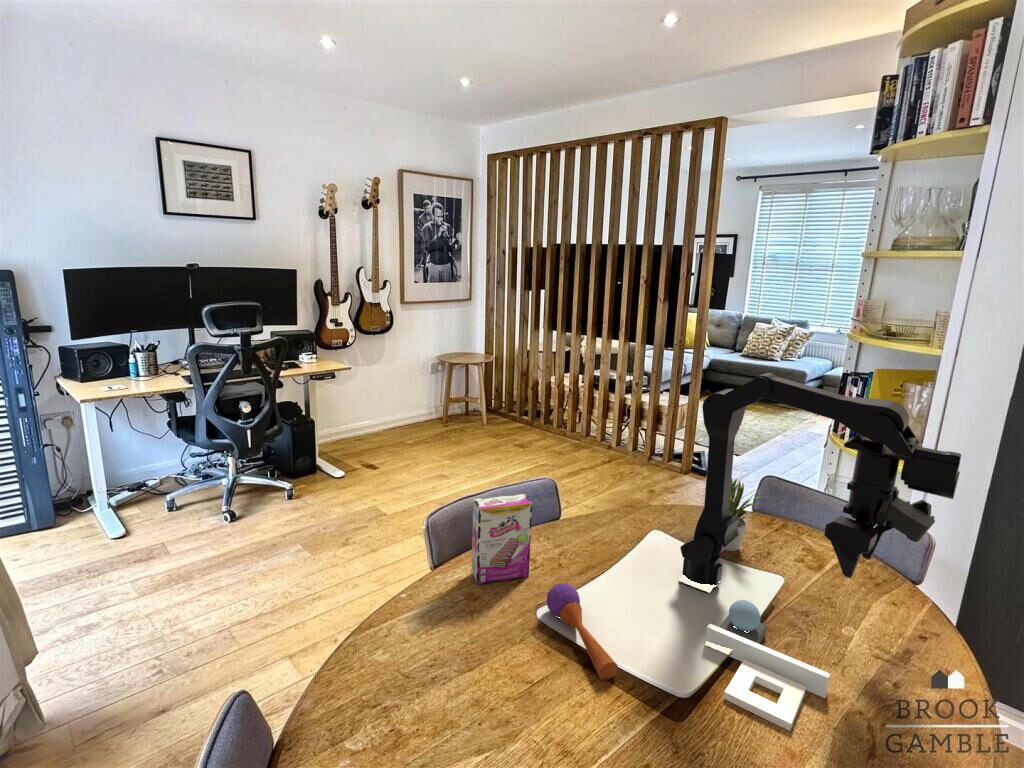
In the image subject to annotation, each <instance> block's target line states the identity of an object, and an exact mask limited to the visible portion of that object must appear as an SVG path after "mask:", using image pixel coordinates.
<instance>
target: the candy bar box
mask: <svg viewBox="0 0 1024 768" xmlns="http://www.w3.org/2000/svg"><path fill="white" fill-rule="evenodd" d="M472 502H473V503H472V538H471V543H472V545H471V574H472V577H473V578H474V580H475V583H476V585H483V584H488V583H496V582H502V581H509V580H515V579H523V578H528V577H530V558H531V540H532V539H531V537H532V520H533V519H532V516H533V502H532V500H531V499H530V498H528V496H527V495H526V494H525V493H522V494H521V493H520V494H513V495H512V494H511V495H503V496H493V497H492V496H490V497H482V498H480V497H479V498H473V501H472Z"/></svg>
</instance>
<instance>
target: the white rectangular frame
mask: <svg viewBox="0 0 1024 768" xmlns="http://www.w3.org/2000/svg"><path fill="white" fill-rule="evenodd" d="M755 683H756V684H757V685H760V686H762V687H765V688H766V689H769V690H770V691H773V692H775V693H778V694H780V696H779V697H778V700H777V703H776V702H774V701H771V700H769V699H767V698H765V697H763V696H761V695H759V694H756V693H754V692H752V691H751V690H752V688H753V687H754V685H755ZM806 691H807V690H806V686H803V685H801V684H799V683H796V682H794V681H792V680H790V679H787V678H785V677H783V676H780V675H778V674H776V673H774V672H771V671H769V670H767V669H765V668H762V667H760V666H758V665H755V664H753V663H751V662H749V661H746V660H743V662H741V664H740V666H739V667H738V669H737V671H736V672H735V674H734V676H733V678H732V679H731V681H730V683H729V684H728V686H727V688H726V689H725V690H724V696H723V697H724V698H723V699H724V700H726V701H728V702H730V703H732V704H734V705H736V706H738V707H740V708H742V709H744V710H746V711H749V712H751V713H753V714H754V715H757V716H758V717H760V718H763V719H765V720H766V721H769V722H771V723H772V724H774V725H777V726H779V727H781V728H783V729H784V730H787V731H789V732H790V731H791V730H792V728H793V725H794V722H795V721H796V718H797V715H798V713H799V710H800V708H801V705H802V703H803V700H804V698H805V696H806Z"/></svg>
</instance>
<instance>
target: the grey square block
mask: <svg viewBox="0 0 1024 768" xmlns="http://www.w3.org/2000/svg"><path fill="white" fill-rule="evenodd" d="M733 626H734V625H733V624H732V623H731V621H730V618H729V614H728V615H727V616H726V618H725V619H724V621H722V623H721V624H720V626H719V628H722V629H724V630H726V631H729V632H731V633H734V634H736V635H738V636H741V637H743V638H746V639H748V640H750V641H753V642H755V643H758V644H760V645H761V643H762V641H763V640H764V638H765V636H766V631H767V624H766V623H762V622H760V623H759V625H758V627H757V628H756V629H754V630H752V631H751V632H750V634H749V633H746V632H744V631H741V630H739V629H736V628H734V627H733Z"/></svg>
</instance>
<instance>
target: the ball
mask: <svg viewBox="0 0 1024 768" xmlns="http://www.w3.org/2000/svg"><path fill="white" fill-rule="evenodd" d="M728 615H729V618H730V621H731V623H732V624H733V625H734V626H735V627H736V628H737V629H739V630H741V631H746V632H748V631H752V630H754V629H756V628H757V627H758V625H759V623H761V613H760V611H759V609H758V607H757V606H756V605H755V604H754V603H753V602H751V601H749V600H746V599H738V600H736V601H734V602H733V603H732V604H731V605H730V607H729V610H728Z"/></svg>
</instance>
